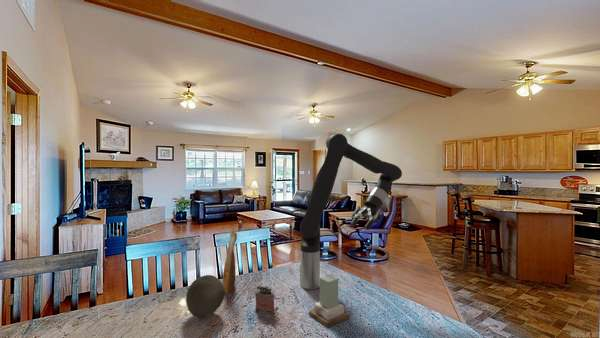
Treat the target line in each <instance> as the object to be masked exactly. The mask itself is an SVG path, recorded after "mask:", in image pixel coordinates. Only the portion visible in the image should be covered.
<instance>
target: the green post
mask: <svg viewBox="0 0 600 338" xmlns="http://www.w3.org/2000/svg"><path fill="white" fill-rule="evenodd" d="M319 302H320V304H321V305H323V306H324V307H326V308H328V309H329V308H332V307H335V306H337V305H338V303H339V278H337V277H335V276H334V275H331V274H330V275H325V276H320V287H319Z"/></svg>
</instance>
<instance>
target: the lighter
mask: <svg viewBox="0 0 600 338" xmlns="http://www.w3.org/2000/svg"><path fill="white" fill-rule="evenodd" d="M256 289H257V290H256V291H255V293H254V294H255V310H254V311H255V312H256V313H259V314H264V315H274V314H275V293H274V292H272V287H269V286H268V285H265V286H263V285H257V286H256Z"/></svg>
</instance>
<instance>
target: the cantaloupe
mask: <svg viewBox="0 0 600 338" xmlns="http://www.w3.org/2000/svg"><path fill="white" fill-rule="evenodd" d="M225 294H226V293H225V289H224V286H223V281H222V280H220V279H219V278H217V277H216V276H215V275H212V274H207V275H202V276H199V277H197V278H196V279H194V281H192V282H191V284H190V285H189V287H188V288H187V291H186V297H185V300H186V307H187V310H188V311H189V313H190V314H192V316H194V317H196V318H201V319H202V318H206V317H209V316H212V314H214V313H216V311H217V310H218V309H219V308H220V306H221V305H222V303H223V301H224V299H225V296H226V295H225Z"/></svg>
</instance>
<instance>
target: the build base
mask: <svg viewBox="0 0 600 338" xmlns="http://www.w3.org/2000/svg"><path fill="white" fill-rule="evenodd" d="M313 307H314V308H313V309H310V310H308V316H310V317H311V318H313V319H314V320H316V321H317V322H319V323H320V324H321V325H323V326H325V327H326V328H330V327H332V326H334V325H336V324H339V323H341V322H344V321H345V320H346V321H347V320H348V319H350V313H348V312H347V311H345V306H344V305H343V304H341V303H340V302H338V305H337V306H335V307H332V308H329V309H328V308H326V307H324V306H323V305H321V304H320V301H318V302H317V301H316V302H315V303H314V305H313Z"/></svg>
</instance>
